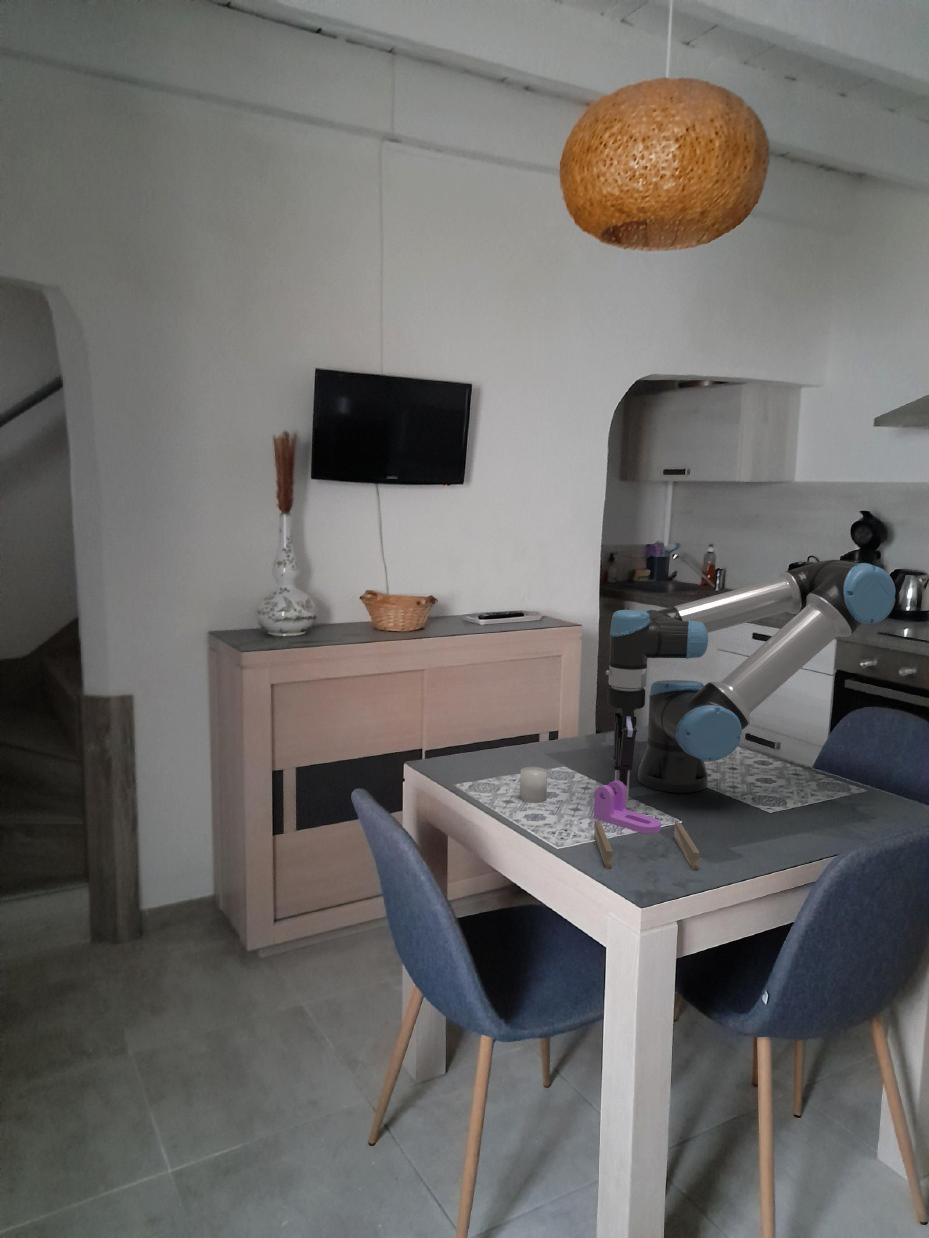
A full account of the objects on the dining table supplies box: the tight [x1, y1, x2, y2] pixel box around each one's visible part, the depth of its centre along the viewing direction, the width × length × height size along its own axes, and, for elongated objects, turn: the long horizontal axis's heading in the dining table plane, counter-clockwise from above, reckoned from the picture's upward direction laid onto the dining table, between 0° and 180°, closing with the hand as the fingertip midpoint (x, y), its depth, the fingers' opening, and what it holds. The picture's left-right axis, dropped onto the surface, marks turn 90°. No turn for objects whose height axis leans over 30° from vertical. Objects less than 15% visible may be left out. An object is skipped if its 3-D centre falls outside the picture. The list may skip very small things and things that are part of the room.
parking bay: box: [593, 820, 701, 870], centre depth 159 cm, size 16×14×3 cm
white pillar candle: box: [519, 766, 548, 804], centre depth 185 cm, size 6×6×6 cm
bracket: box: [593, 779, 662, 835], centre depth 173 cm, size 13×6×7 cm, turn 47°
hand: (620, 798), depth 182 cm, fingers closed
